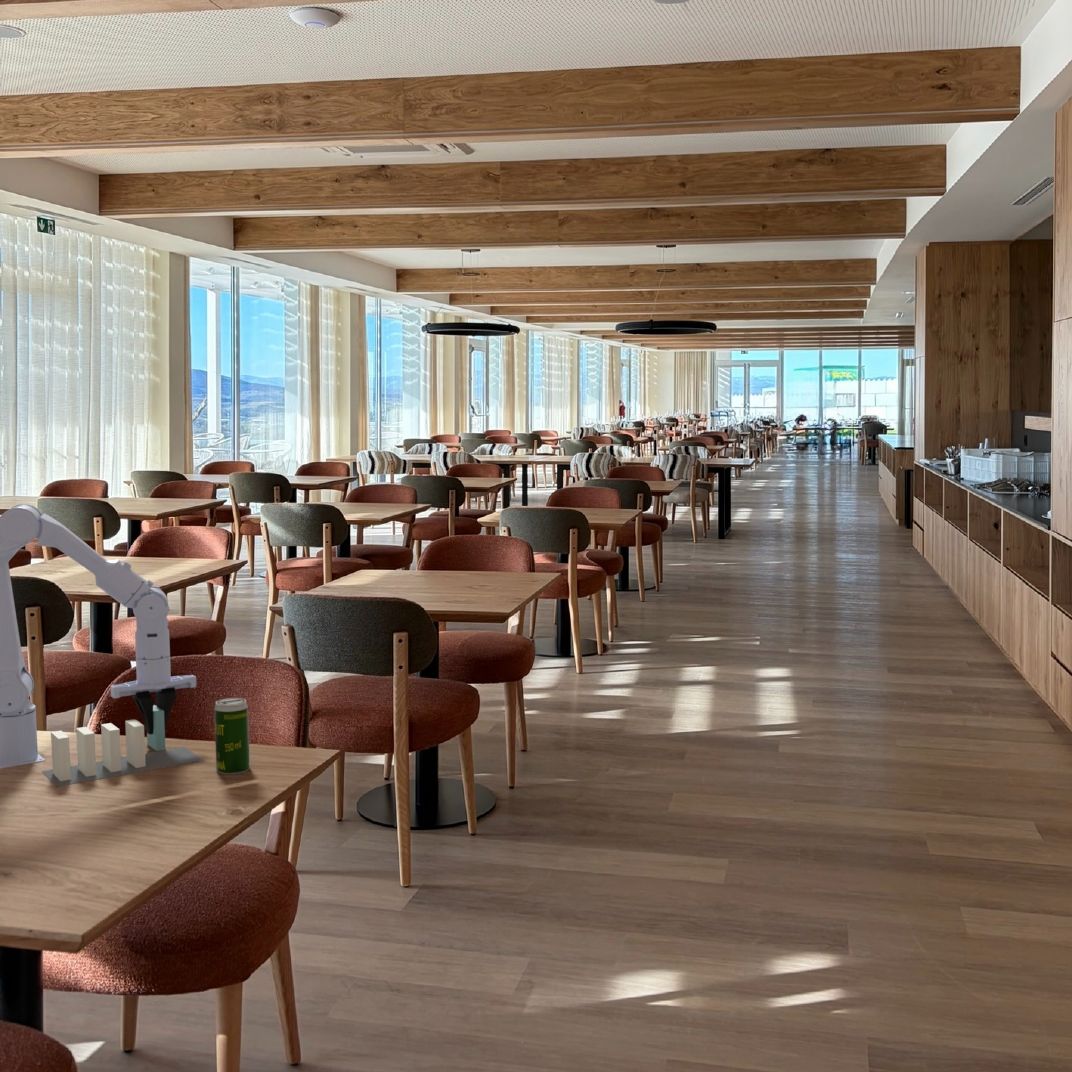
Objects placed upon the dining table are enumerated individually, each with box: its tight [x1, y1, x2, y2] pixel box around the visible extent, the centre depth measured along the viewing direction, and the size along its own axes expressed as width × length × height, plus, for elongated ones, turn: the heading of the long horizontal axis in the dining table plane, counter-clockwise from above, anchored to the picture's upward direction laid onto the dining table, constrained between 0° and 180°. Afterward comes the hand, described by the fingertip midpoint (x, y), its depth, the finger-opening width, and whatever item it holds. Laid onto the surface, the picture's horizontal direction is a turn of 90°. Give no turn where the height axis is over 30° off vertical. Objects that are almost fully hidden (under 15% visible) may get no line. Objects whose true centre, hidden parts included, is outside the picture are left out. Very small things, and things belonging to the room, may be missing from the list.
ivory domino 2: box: [76, 726, 97, 777], centre depth 193 cm, size 2×5×7 cm, turn 35°
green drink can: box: [213, 697, 251, 775], centre depth 194 cm, size 5×5×12 cm
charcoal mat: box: [41, 746, 205, 788], centre depth 197 cm, size 10×24×1 cm, turn 126°
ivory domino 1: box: [50, 730, 71, 781], centre depth 191 cm, size 2×5×7 cm, turn 35°
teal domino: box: [146, 704, 166, 752], centre depth 208 cm, size 2×5×7 cm, turn 36°
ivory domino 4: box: [124, 718, 146, 768], centre depth 198 cm, size 2×5×7 cm, turn 35°
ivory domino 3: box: [100, 722, 122, 772], centre depth 196 cm, size 2×5×7 cm, turn 35°
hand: (155, 732), depth 208 cm, fingers closed on teal domino, 1 cm apart
